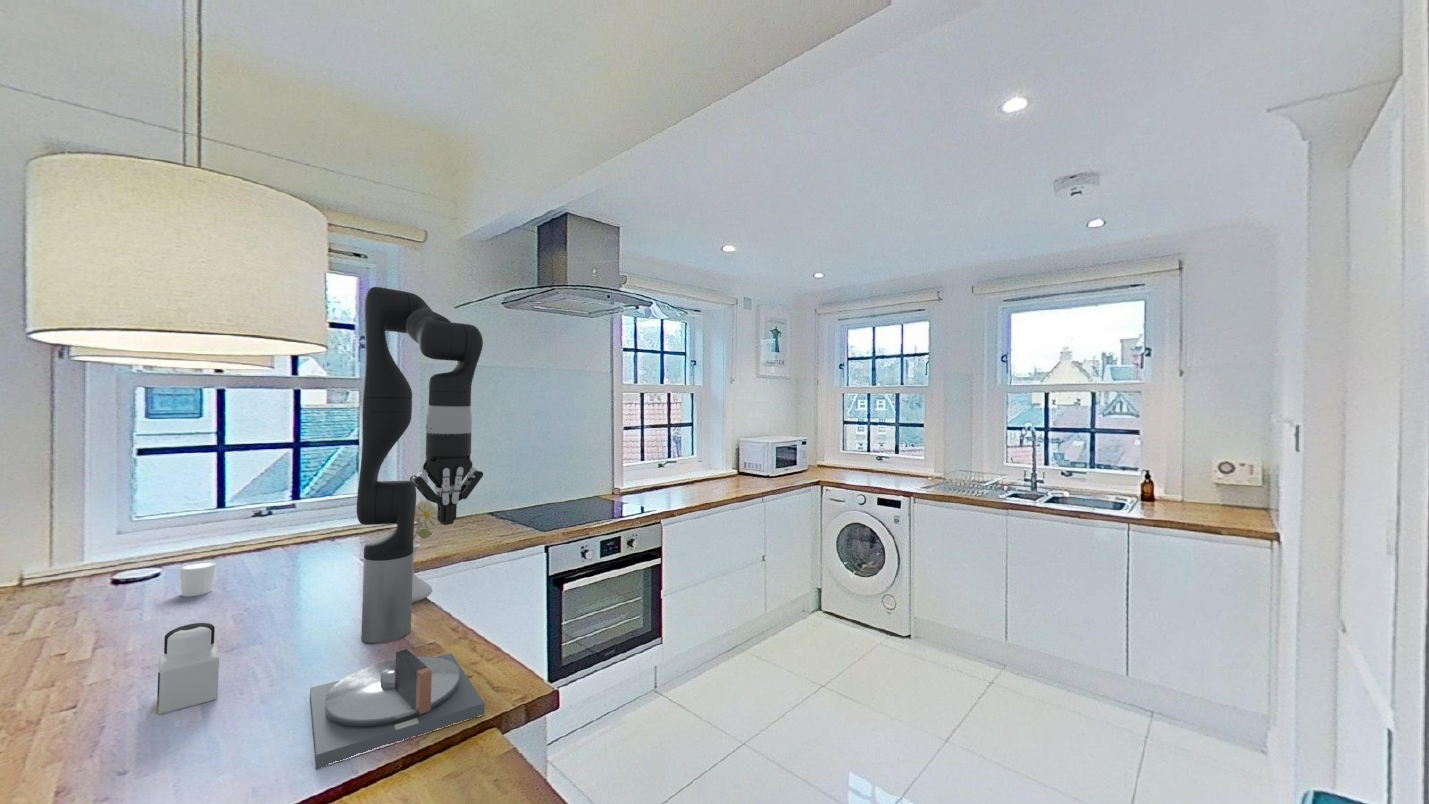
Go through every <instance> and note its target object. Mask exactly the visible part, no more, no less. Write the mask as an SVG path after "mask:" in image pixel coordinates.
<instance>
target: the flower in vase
mask: <svg viewBox="0 0 1429 804" xmlns="http://www.w3.org/2000/svg"><path fill="white" fill-rule="evenodd" d="M437 512H438V507H437V506H434V505H433V503H432V502H431V501H428V500H425V501H423V500H420V501H419V502H417V504H416V508H415V518H414V522H416V524H417V528H416V532H415V533H414V536H413V541H414V540H415V539H416V536H417V535H418V536H419V537H420V538H421V539H427V538H429V537H430V536H432V535H433V532H432V531H430V530H433V529H434V528H435V526H438V524H440V522H439V521H438V519H437V516H438V515H437V514H438V513H437ZM419 528H421V529H419ZM420 545H421V544H419V543H414V542H413V561H414V560H415V559H414V558H415V555H416V552H417V551H418V548H419V547H420ZM432 593H433V588H432V586H431V585H430V584H429V583H427V582H426V581H424V579H421V578H419V577H418V576H417V575H415V572H414V571H413V579H412V603H416V602H419V601H421V600H424V599H426V598H428V597H429V596H431V594H432Z"/></svg>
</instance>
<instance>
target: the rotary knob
mask: <svg viewBox="0 0 1429 804" xmlns="http://www.w3.org/2000/svg"><path fill="white" fill-rule="evenodd" d="M437 657H438V656H416V655H414V654H413V653H412V652H411V651H409V649H407V648H405V649H403V650H402V649H401V650H399V651H396V652H395V659H391V660H388V661H387V660H386V661H384V662H383V661H382V662H379V663H376V664H373V665H369V666H367V667H364V668H361V669H360V670H356V671H355V672H353V673H351V674H349V675H347V676H346V677H344V678H342V679H340V680H341V681H340V680H338V681H339V682H338V683H336V684H335V685H334V686H333V687H332V688H331V689H330V690H329V692H328V693H327V695H326V698H325V713H326V715H327V717H328V718H329V719H331V720H332V721H334V722H337V723H339V724H344V725H351V726H371V725H380V724H386V723H391V722H396V721H400V720H403V719H407V718H410V717H413V716H416V715H418V714H419V715H420V714H422V713H425V712H428V711H430V710H431V709H432V708H434V707H436V706H437V705H439V704H441V703H442V702H444V701H445V700H446V699H448V698H449V697H450V696H451V695H452V694H453V693H454V692H455V690H456V689H457V687H458V685H459V669H458V667H457V666H456V665H455V664H454V663H453V662H451V661H449V660H446V659H442V658H437Z"/></svg>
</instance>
